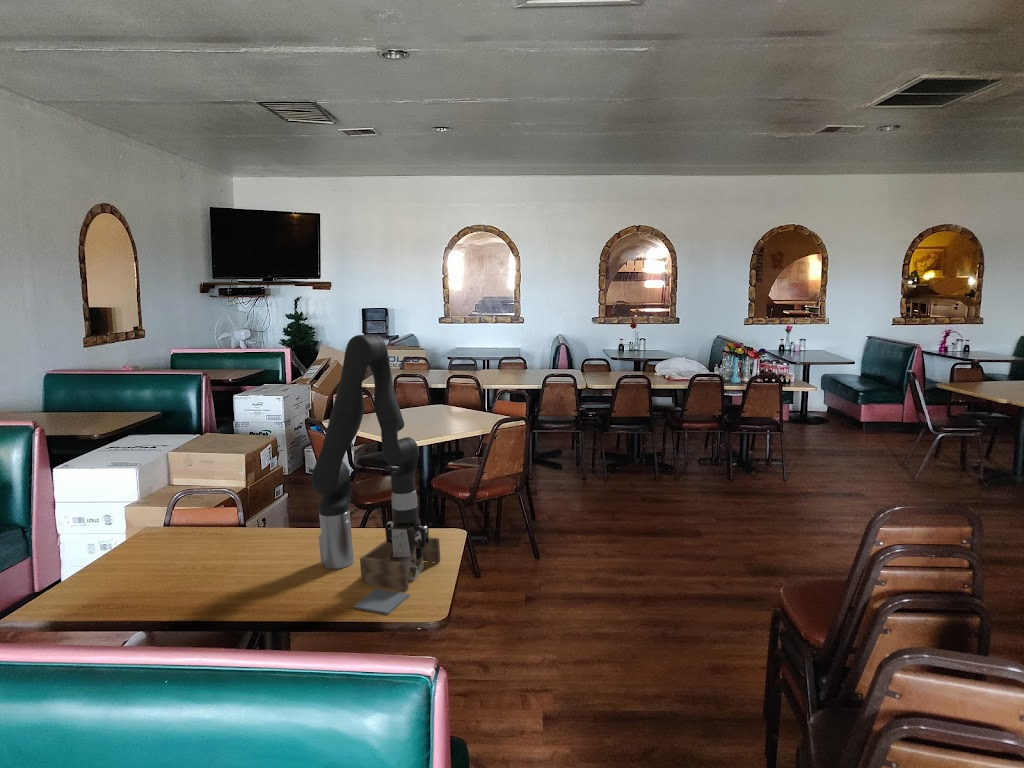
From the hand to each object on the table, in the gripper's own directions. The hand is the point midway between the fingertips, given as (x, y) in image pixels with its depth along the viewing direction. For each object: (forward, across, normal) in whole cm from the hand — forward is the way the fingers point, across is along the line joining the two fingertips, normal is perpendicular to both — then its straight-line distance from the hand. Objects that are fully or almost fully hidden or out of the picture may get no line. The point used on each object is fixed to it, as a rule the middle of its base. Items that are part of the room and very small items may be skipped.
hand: (408, 557), depth 208 cm
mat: (+5, +2, -18) cm, 19 cm away
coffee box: (+6, 0, 0) cm, 6 cm away
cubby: (+5, -3, 0) cm, 6 cm away
